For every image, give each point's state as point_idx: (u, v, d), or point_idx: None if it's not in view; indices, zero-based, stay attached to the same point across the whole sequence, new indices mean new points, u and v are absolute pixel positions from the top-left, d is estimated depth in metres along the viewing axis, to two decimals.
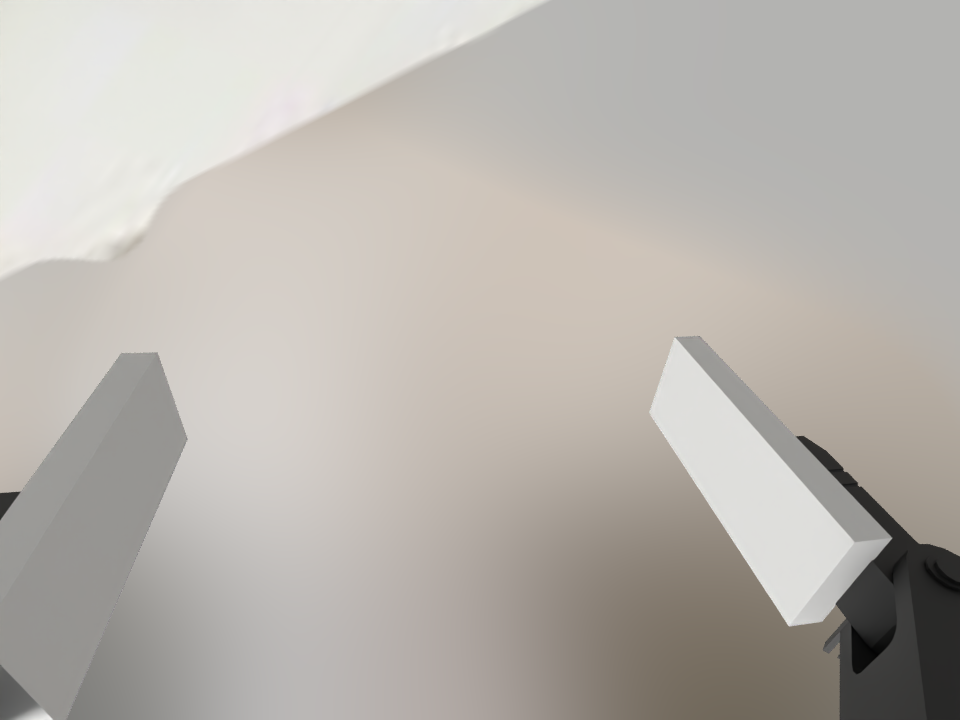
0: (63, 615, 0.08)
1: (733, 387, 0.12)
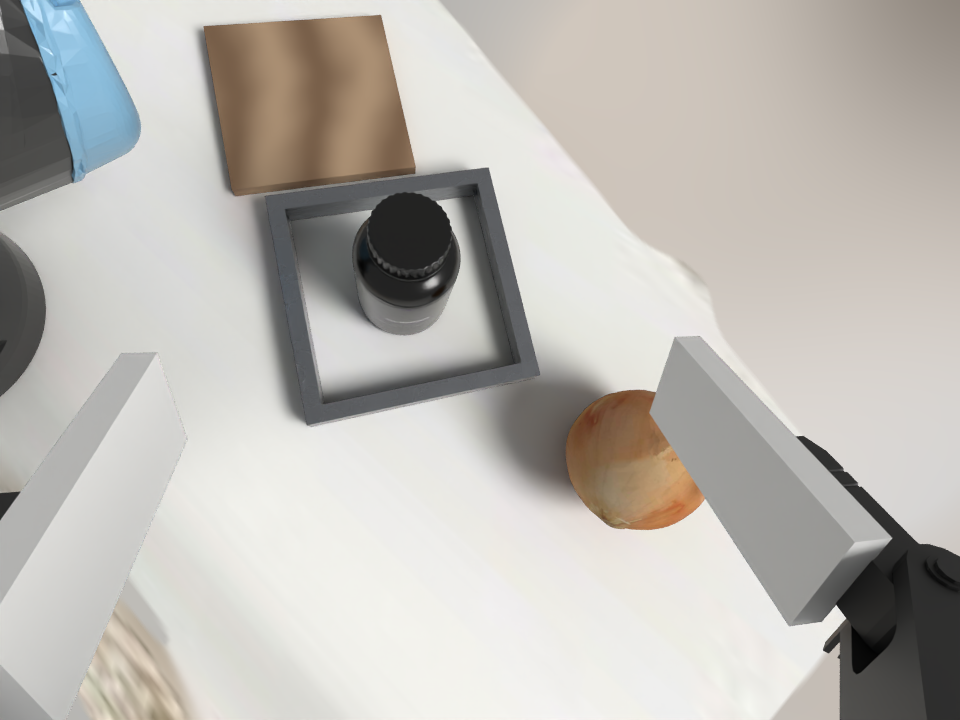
0: (63, 615, 0.08)
1: (733, 387, 0.12)
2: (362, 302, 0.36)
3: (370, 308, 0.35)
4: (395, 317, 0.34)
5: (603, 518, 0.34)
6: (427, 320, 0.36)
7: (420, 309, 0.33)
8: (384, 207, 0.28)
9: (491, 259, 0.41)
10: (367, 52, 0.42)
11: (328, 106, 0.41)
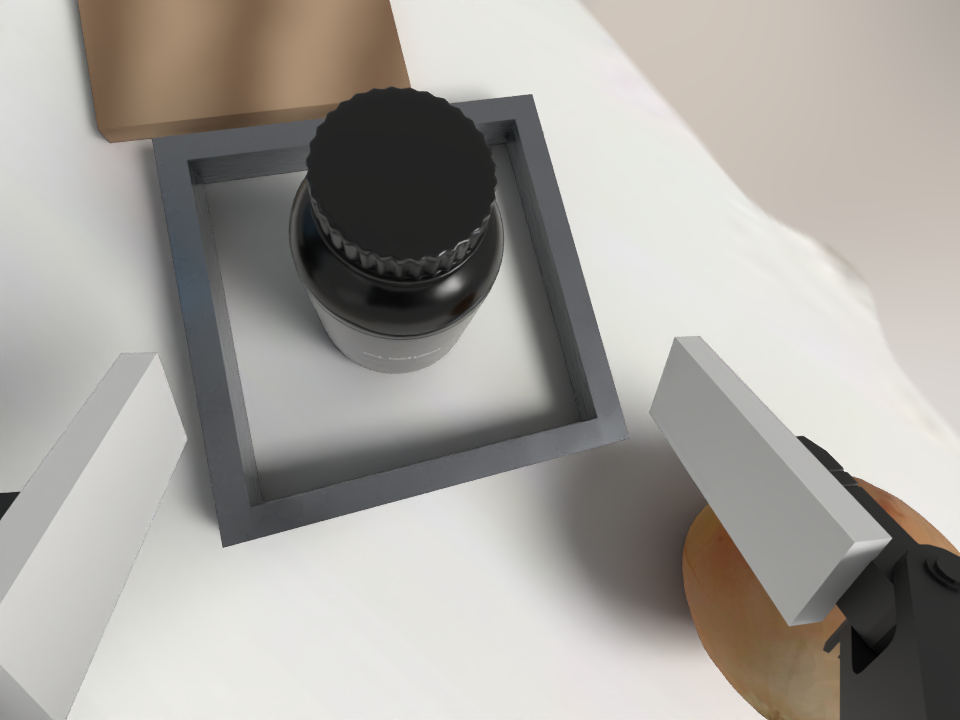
0: (63, 615, 0.08)
1: (733, 387, 0.12)
2: (321, 322, 0.20)
3: (334, 334, 0.19)
4: (380, 351, 0.18)
5: None
6: (438, 352, 0.20)
7: (427, 338, 0.17)
8: (345, 119, 0.13)
9: (538, 244, 0.25)
10: None
11: None
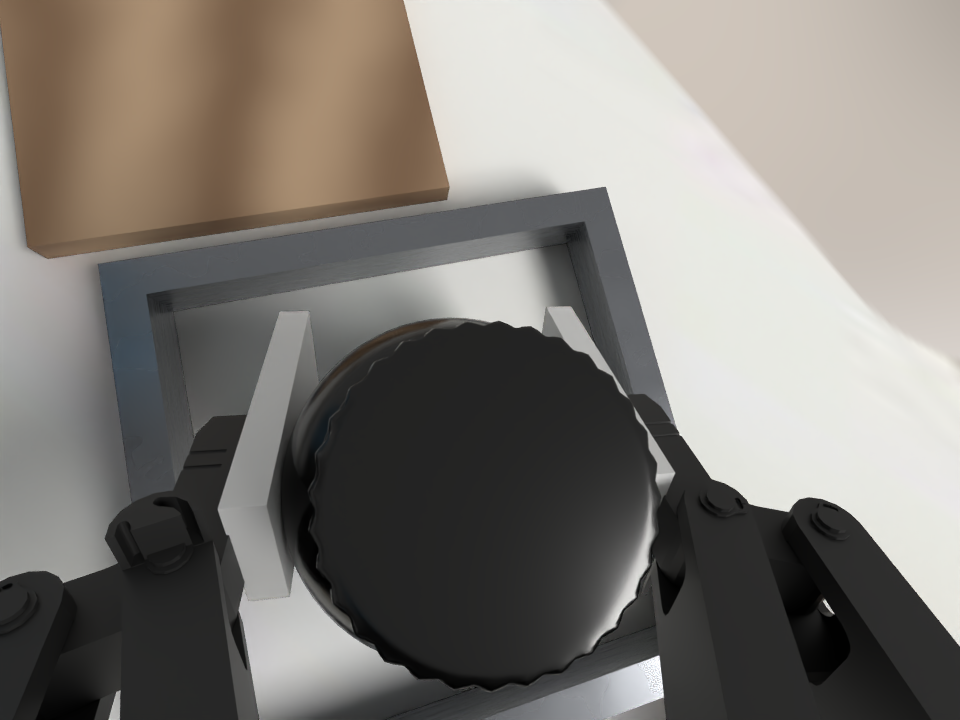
0: None
1: (583, 349, 0.13)
2: None
3: None
4: None
5: None
6: None
7: None
8: (384, 399, 0.07)
9: None
10: None
11: (260, 58, 0.19)
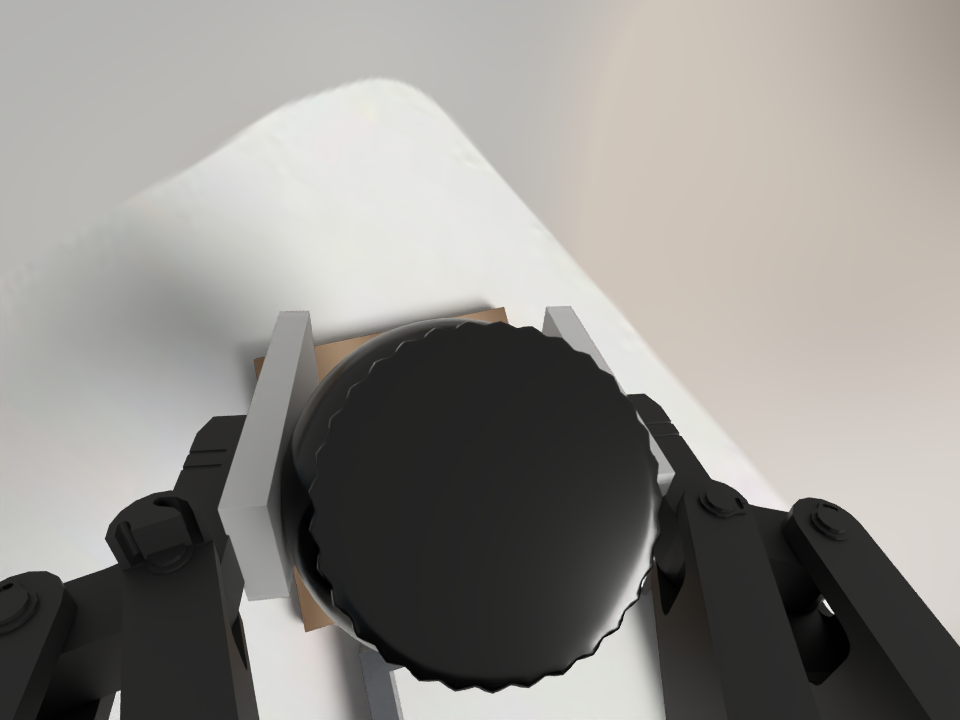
0: None
1: (583, 349, 0.13)
2: None
3: None
4: None
5: None
6: None
7: None
8: (385, 399, 0.07)
9: None
10: None
11: None
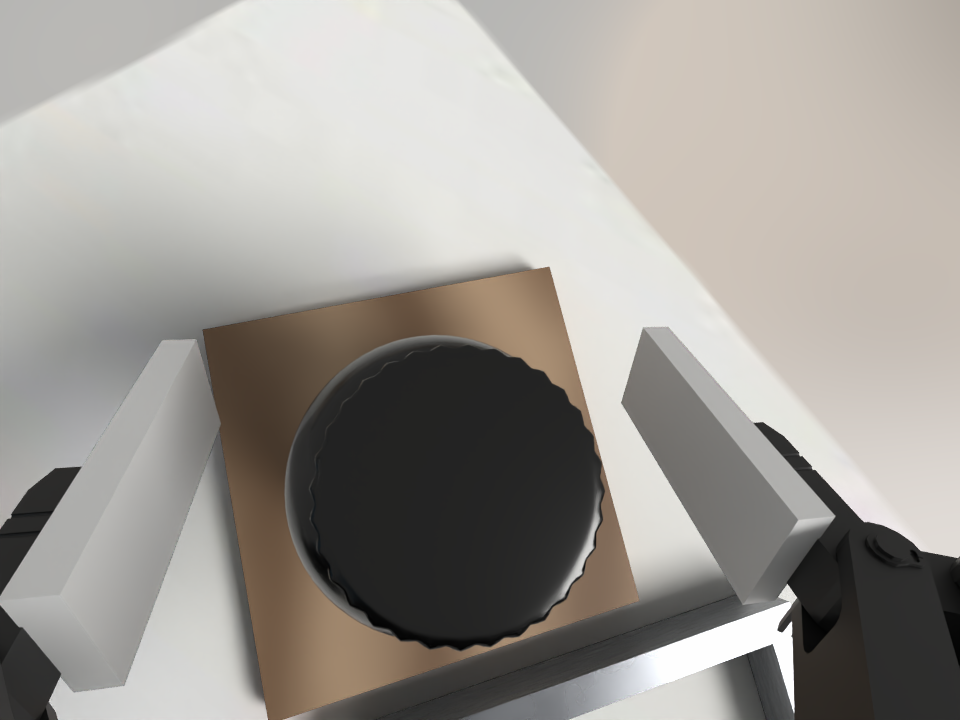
0: (124, 580, 0.09)
1: (696, 375, 0.12)
2: None
3: None
4: None
5: None
6: None
7: None
8: (371, 411, 0.08)
9: None
10: (529, 351, 0.21)
11: None
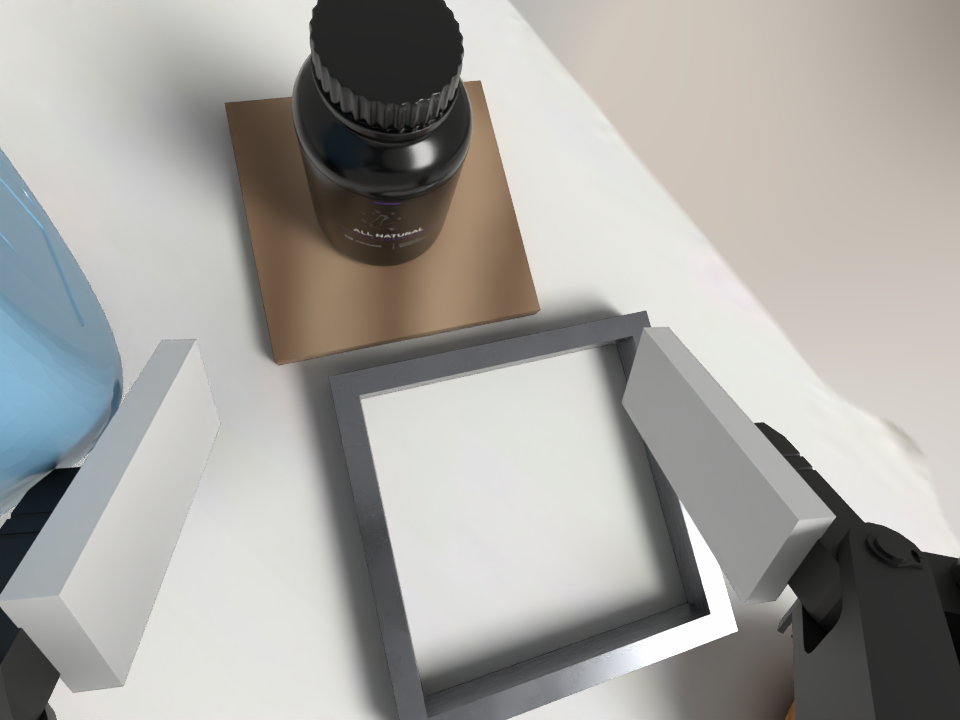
0: (123, 580, 0.09)
1: (696, 375, 0.12)
2: (317, 208, 0.23)
3: (328, 213, 0.22)
4: (368, 223, 0.21)
5: None
6: (419, 236, 0.24)
7: (408, 203, 0.20)
8: None
9: None
10: None
11: None
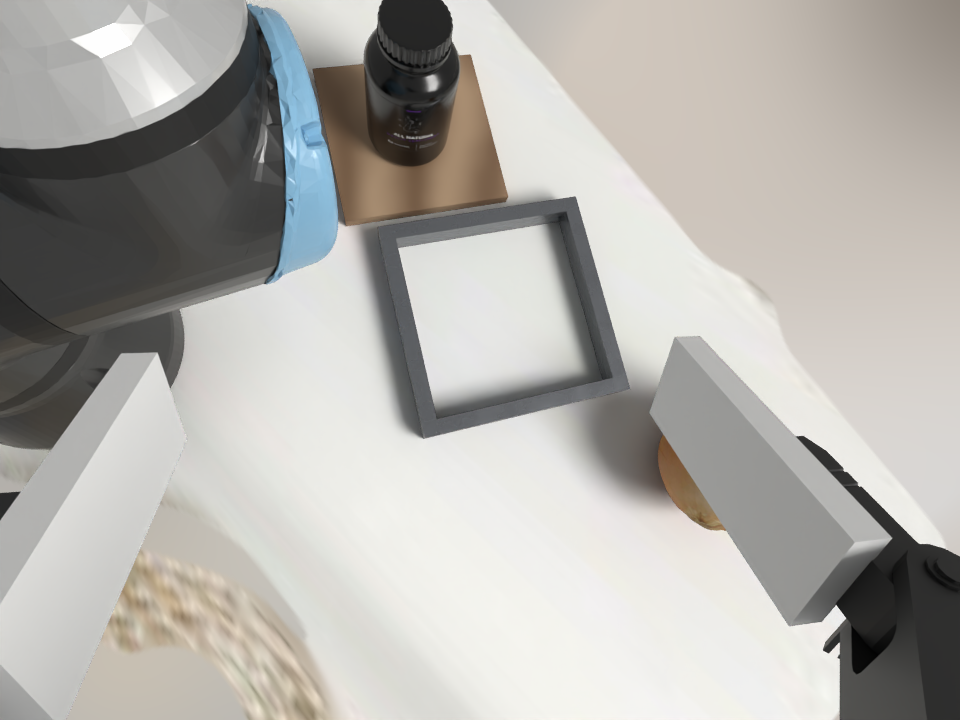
0: (63, 615, 0.08)
1: (733, 387, 0.12)
2: (372, 124, 0.40)
3: (379, 124, 0.39)
4: (402, 128, 0.38)
5: (700, 521, 0.37)
6: (431, 140, 0.40)
7: (425, 112, 0.36)
8: None
9: (579, 281, 0.44)
10: (460, 90, 0.45)
11: None
